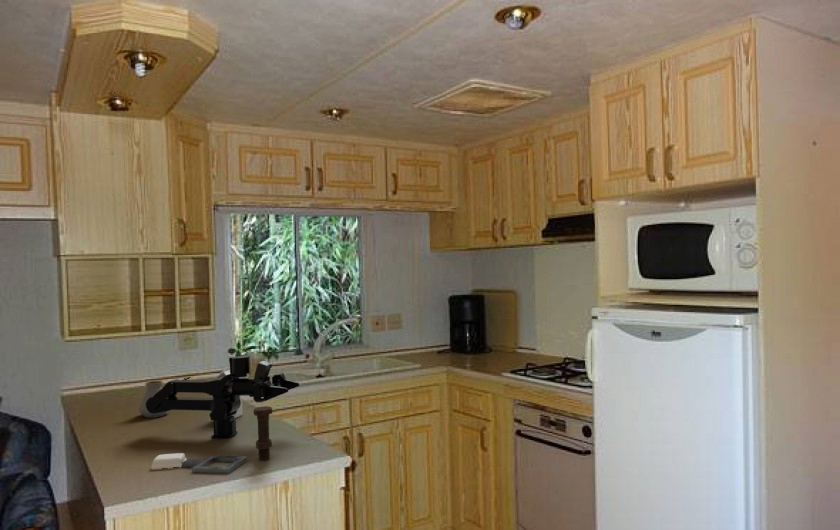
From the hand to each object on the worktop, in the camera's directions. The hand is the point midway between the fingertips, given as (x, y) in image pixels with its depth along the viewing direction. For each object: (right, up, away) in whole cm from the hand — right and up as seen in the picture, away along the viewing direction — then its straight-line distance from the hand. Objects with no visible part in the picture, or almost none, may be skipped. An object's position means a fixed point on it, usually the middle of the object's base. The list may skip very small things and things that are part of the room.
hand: (293, 387), depth 201 cm
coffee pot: (-57, -18, +36) cm, 70 cm away
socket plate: (-18, -17, -27) cm, 37 cm away
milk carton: (-31, -18, +30) cm, 47 cm away
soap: (-31, -18, -25) cm, 43 cm away
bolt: (-4, -17, -22) cm, 28 cm away
